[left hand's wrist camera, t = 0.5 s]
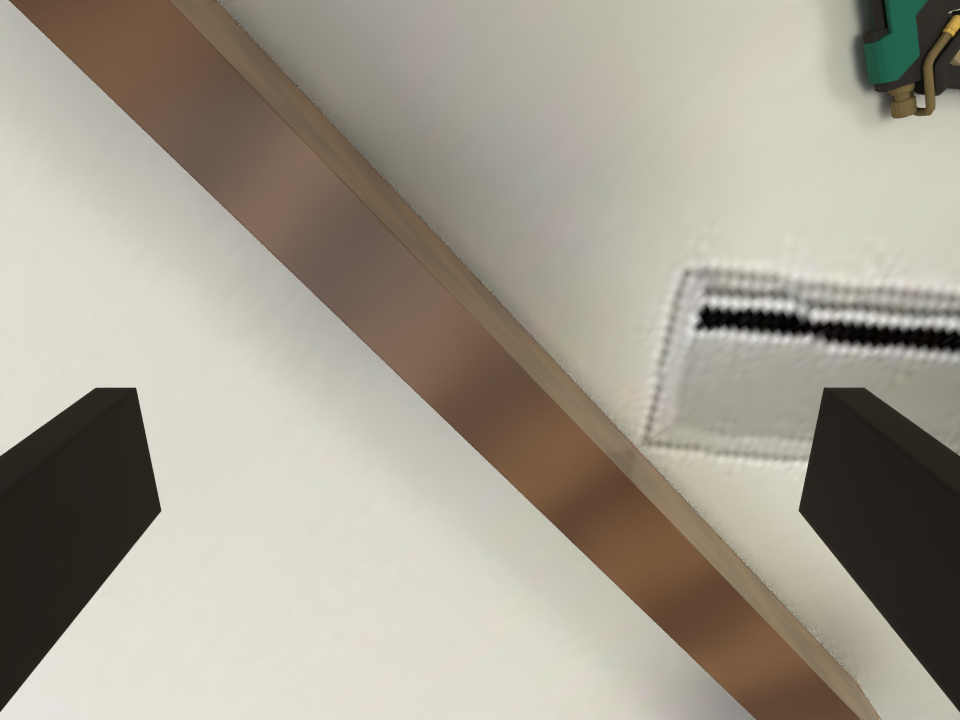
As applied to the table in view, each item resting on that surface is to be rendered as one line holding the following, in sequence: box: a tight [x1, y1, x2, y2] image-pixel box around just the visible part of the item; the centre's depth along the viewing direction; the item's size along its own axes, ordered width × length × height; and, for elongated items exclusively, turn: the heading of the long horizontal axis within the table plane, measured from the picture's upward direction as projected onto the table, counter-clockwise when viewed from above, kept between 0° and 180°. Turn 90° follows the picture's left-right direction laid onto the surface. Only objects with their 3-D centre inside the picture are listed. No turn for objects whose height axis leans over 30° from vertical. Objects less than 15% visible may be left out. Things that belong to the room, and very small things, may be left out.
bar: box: [9, 0, 882, 720], centre depth 36 cm, size 78×5×8 cm, turn 43°
